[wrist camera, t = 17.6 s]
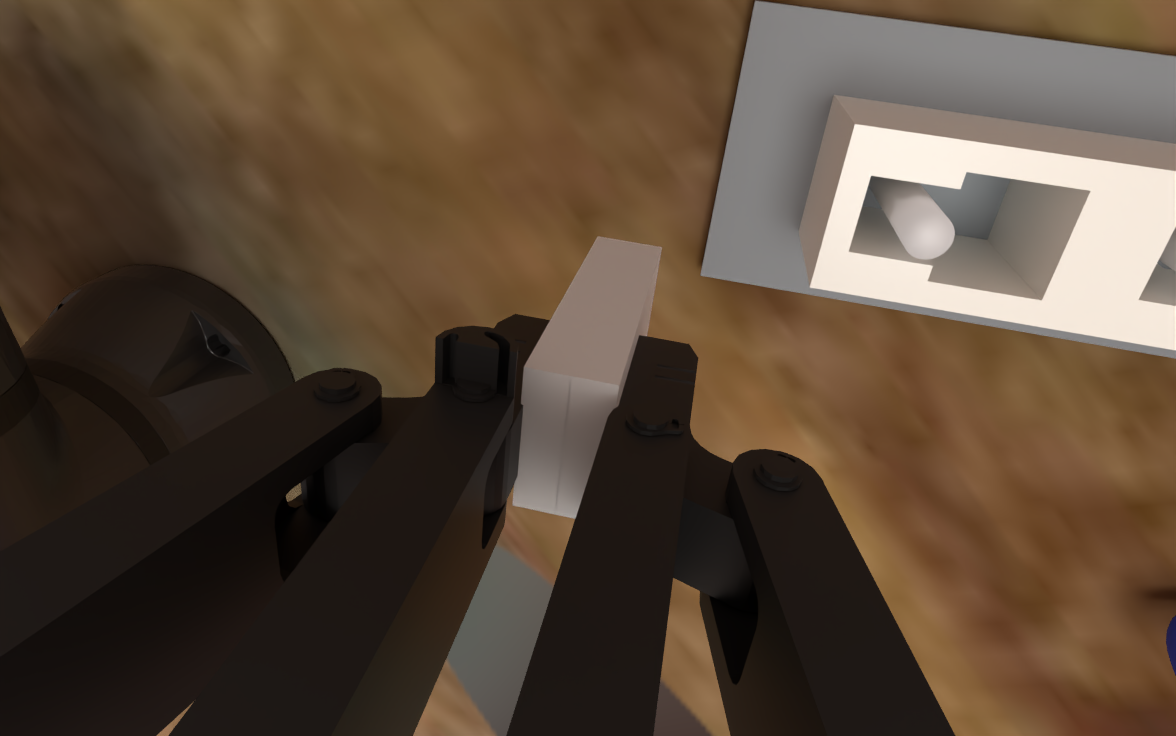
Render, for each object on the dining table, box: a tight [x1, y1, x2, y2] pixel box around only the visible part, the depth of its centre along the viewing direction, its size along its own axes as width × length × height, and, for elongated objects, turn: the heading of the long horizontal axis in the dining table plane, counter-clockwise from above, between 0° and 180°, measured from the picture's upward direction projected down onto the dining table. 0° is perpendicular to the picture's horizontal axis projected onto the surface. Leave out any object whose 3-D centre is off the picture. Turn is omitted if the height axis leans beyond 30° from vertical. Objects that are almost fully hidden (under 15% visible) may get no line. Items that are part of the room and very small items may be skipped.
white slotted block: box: [799, 95, 1176, 350], centre depth 28 cm, size 22×6×7 cm, turn 84°
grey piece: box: [700, 0, 1176, 358], centre depth 29 cm, size 24×12×10 cm, turn 84°
